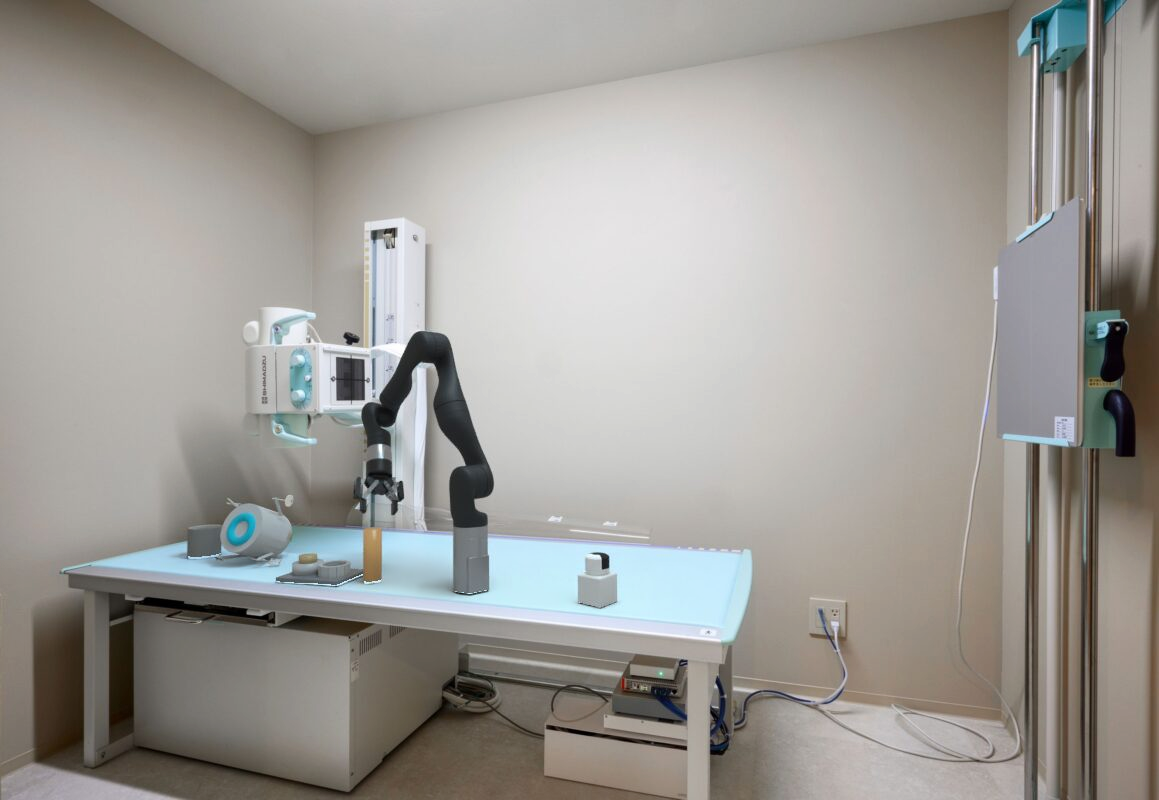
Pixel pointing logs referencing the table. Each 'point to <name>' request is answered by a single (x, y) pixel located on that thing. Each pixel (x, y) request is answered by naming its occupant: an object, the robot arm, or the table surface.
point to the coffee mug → (204, 540)
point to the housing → (319, 571)
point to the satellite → (256, 531)
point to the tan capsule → (372, 554)
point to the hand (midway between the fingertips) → (379, 513)
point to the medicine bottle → (597, 581)
